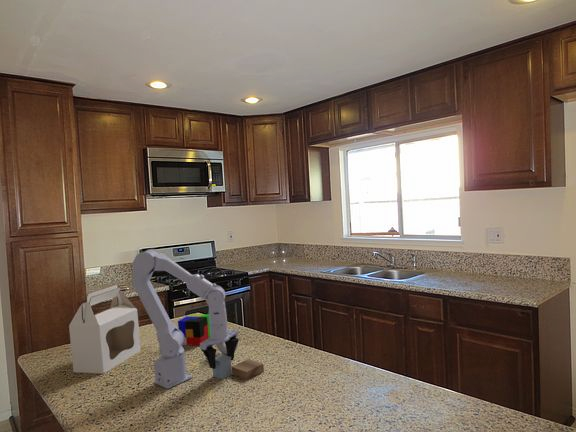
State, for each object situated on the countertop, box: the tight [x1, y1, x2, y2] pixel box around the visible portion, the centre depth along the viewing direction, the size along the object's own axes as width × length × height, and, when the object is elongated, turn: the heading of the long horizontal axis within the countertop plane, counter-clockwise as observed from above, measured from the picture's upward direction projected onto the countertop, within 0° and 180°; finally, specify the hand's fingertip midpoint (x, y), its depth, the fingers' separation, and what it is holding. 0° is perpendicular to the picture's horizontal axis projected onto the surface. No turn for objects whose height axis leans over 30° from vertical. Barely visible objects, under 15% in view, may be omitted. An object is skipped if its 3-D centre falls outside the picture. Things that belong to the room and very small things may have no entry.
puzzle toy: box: [177, 313, 211, 347], centre depth 170 cm, size 10×10×10 cm
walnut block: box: [231, 358, 265, 381], centre depth 135 cm, size 8×8×3 cm
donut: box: [215, 328, 239, 355], centre depth 152 cm, size 10×3×10 cm, turn 61°
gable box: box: [68, 284, 141, 375], centre depth 154 cm, size 22×13×28 cm, turn 165°
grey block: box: [212, 353, 233, 380], centre depth 134 cm, size 5×5×6 cm
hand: (221, 363), depth 134 cm, fingers open, 7 cm apart
